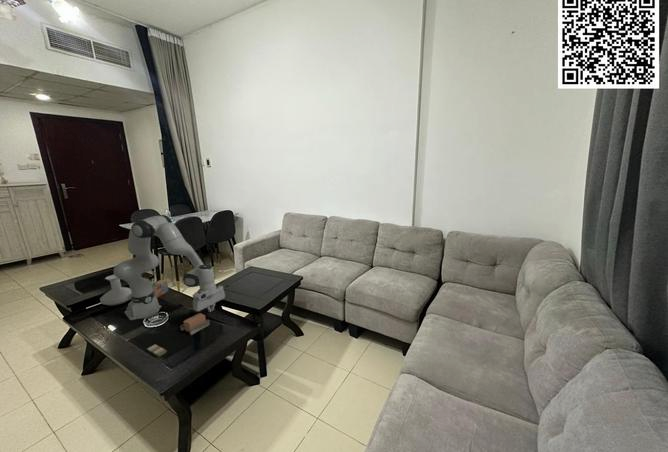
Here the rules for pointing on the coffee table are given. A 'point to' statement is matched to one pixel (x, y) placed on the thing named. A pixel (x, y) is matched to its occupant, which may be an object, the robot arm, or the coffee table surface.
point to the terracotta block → (194, 321)
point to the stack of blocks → (159, 287)
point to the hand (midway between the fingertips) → (211, 310)
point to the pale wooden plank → (160, 351)
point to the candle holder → (116, 292)
